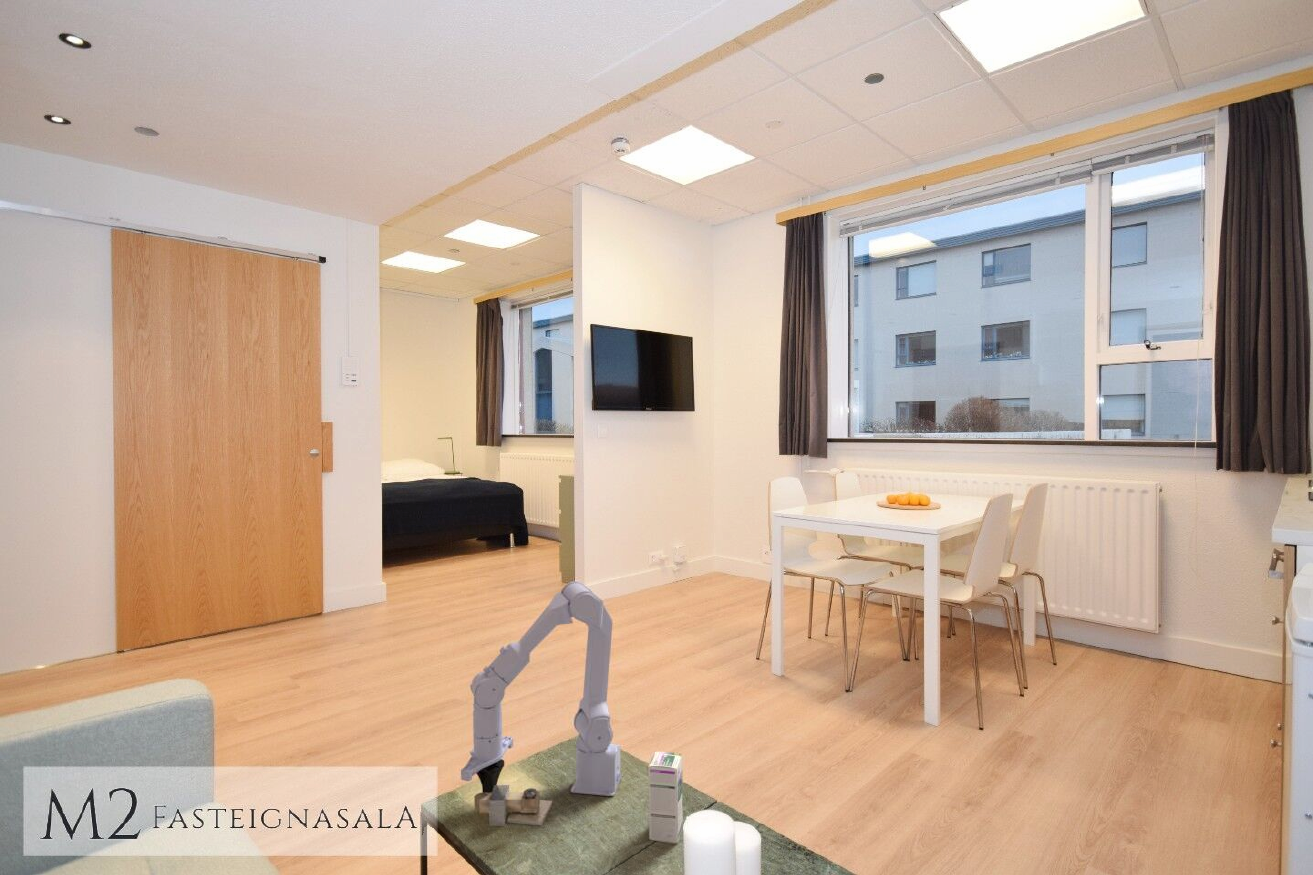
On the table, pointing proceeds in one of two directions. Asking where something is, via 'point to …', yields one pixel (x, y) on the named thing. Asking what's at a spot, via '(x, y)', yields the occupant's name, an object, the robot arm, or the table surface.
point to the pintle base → (531, 817)
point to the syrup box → (665, 797)
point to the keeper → (498, 805)
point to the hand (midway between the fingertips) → (488, 796)
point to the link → (509, 802)
